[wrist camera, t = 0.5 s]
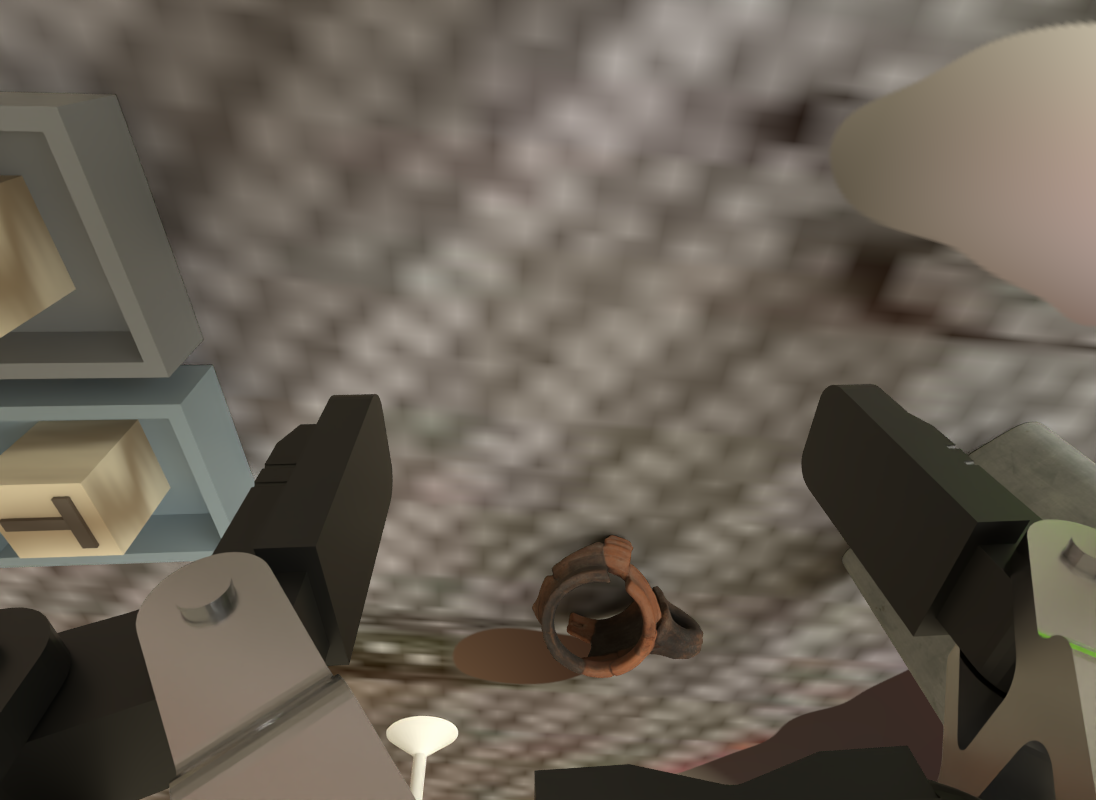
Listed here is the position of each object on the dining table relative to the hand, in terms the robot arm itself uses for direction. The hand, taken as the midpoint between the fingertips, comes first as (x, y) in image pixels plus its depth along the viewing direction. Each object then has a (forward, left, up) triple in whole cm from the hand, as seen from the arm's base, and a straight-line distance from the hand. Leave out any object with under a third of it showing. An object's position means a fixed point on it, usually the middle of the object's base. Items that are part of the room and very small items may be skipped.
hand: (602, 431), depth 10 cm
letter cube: (+15, -24, -18) cm, 33 cm away
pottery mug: (+28, +6, -19) cm, 34 cm away
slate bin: (+15, -24, -18) cm, 34 cm away
